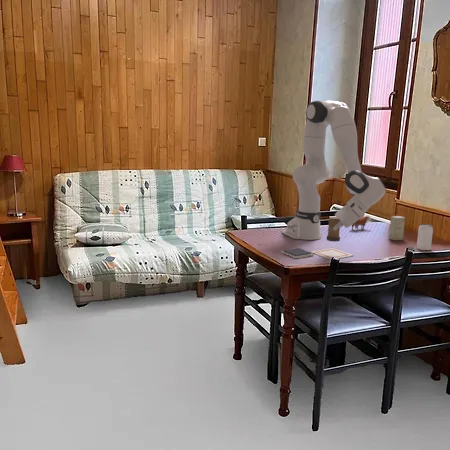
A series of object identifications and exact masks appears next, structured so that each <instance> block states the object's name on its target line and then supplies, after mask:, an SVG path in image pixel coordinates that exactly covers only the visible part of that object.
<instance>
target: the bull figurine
mask: <svg viewBox="0 0 450 450" xmlns="http://www.w3.org/2000/svg"><path fill="white" fill-rule="evenodd" d="M370 221H372V217H371V216H370V215H368V214H367V215H364V217H363V218H360V217H359V219H358V220H357V221H356V222H355V223H354V224H352V225H351V230H352V231H354V230H355V229H356V231H360V229H359V227H360V226H361V229H362V230H363V231H364V230H365V227H366V224H367V223H368V222H370Z"/></svg>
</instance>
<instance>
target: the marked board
mask: <svg viewBox="0 0 450 450" xmlns="http://www.w3.org/2000/svg"><path fill="white" fill-rule="evenodd" d="M310 252H311V253H312V254H313V253H314V254H313V255H317V256H319V257H321V258H324V259H327V260H330V261H332V260H331V258H332V257H335V258H339V259H338V260H340V259H344V258H345V259H346V258H350V257H354V254H352V253H348V252H345V251H343V250H339V249H336V248H333V247H331V248H325V249H324V248H323V249H319V250H313V251H310Z"/></svg>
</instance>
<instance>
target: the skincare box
mask: <svg viewBox="0 0 450 450" xmlns="http://www.w3.org/2000/svg"><path fill="white" fill-rule="evenodd" d="M405 223H406V217H405V216H401V215H394V216H390V222H389V231H388V232H389V233H388V239H389V240H392V241H402V240H404V232H405Z"/></svg>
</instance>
